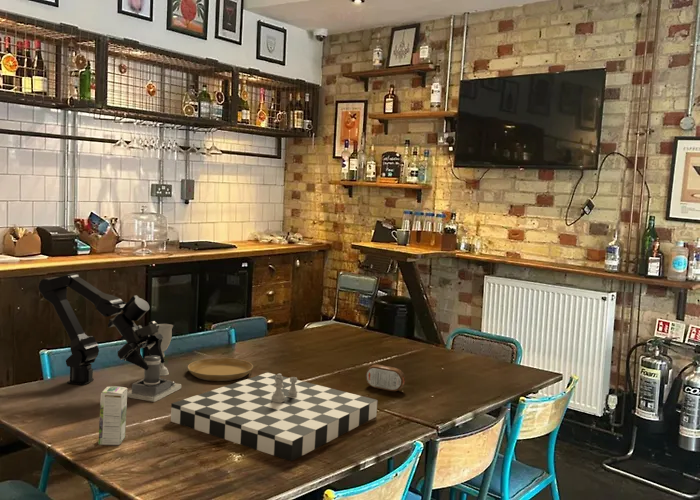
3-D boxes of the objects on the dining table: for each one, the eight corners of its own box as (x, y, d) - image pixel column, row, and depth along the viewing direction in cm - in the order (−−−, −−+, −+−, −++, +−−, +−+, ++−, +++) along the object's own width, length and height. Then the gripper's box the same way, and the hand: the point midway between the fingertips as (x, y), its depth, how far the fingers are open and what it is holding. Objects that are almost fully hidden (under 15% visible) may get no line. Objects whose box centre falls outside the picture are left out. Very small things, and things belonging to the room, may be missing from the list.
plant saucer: (174, 377, 242) (174, 368, 242) (211, 362, 265) (211, 354, 264) (230, 387, 233) (230, 378, 233) (264, 371, 256) (264, 363, 255)
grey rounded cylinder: (143, 392, 218) (144, 359, 217) (143, 387, 222) (144, 355, 221) (159, 391, 219) (161, 359, 218) (159, 386, 224) (160, 355, 223)
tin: (404, 391, 240) (406, 369, 239) (401, 393, 237) (403, 371, 236) (367, 384, 246) (368, 362, 245) (363, 386, 243) (365, 364, 242)
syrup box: (104, 437, 182) (105, 385, 181) (126, 437, 183) (127, 386, 181) (98, 445, 176) (99, 392, 175) (120, 445, 177) (122, 392, 176)
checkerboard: (291, 463, 173) (294, 408, 172) (170, 422, 197) (172, 374, 196) (376, 418, 212) (379, 373, 210) (266, 389, 235) (268, 348, 234)
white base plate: (125, 396, 216) (125, 384, 216) (153, 383, 232) (153, 372, 231) (154, 401, 213) (154, 389, 213) (181, 388, 228) (181, 377, 228)
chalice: (165, 377, 240) (167, 328, 238) (148, 375, 241) (150, 326, 240) (175, 372, 247) (176, 324, 246) (158, 370, 249) (159, 323, 247)
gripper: (126, 319, 211) (155, 357, 209) (159, 310, 229) (186, 345, 226) (104, 340, 214) (133, 378, 212) (139, 329, 231) (165, 364, 229)
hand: (155, 365), depth 220 cm, fingers open, 9 cm apart
